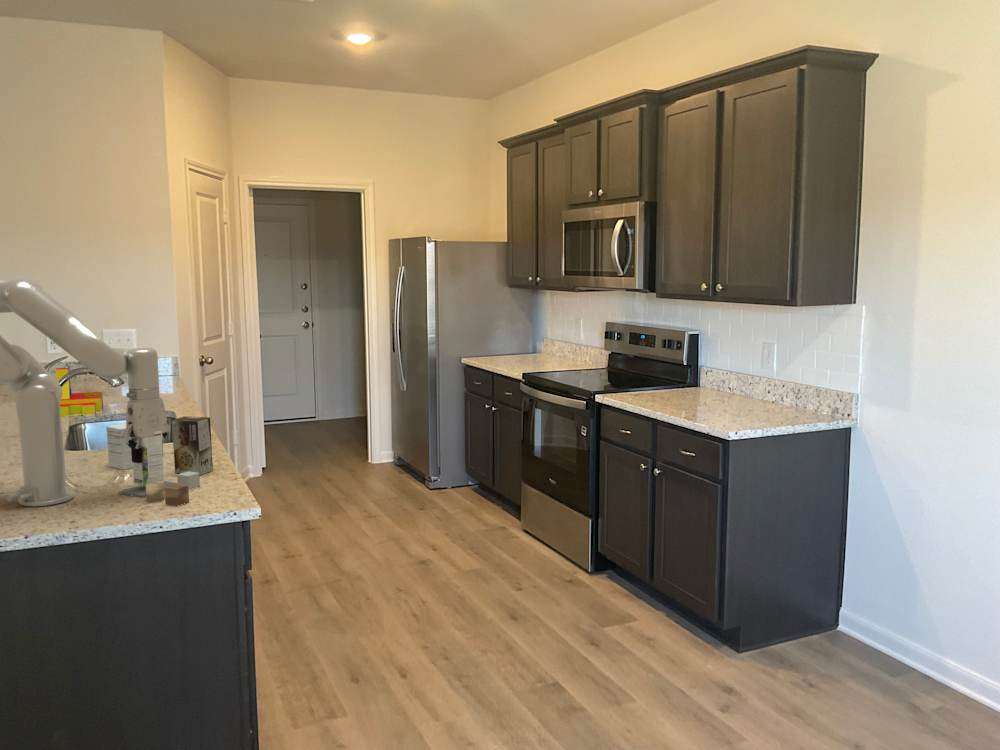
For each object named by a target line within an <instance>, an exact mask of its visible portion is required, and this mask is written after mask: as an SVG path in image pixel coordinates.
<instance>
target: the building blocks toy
mask: <svg viewBox="0 0 1000 750" xmlns="http://www.w3.org/2000/svg"><path fill="white" fill-rule="evenodd" d="M54 370H55V379H56V380H57V381H59V380H60V379H61V378H62V377H63V376H64V375H66V374H67V373H69V374H70V368H69V367H56V368H55V369H54ZM103 399H104V396H103V391H91V392H75V393H74V392H73V393H72V388H71V379H70V380H69V381H68V382H67V383H66V384H65V385H64V386H63V387H62V398H61V401H60V412H61V417H65V416H69V415H74V414H82V415H87V414H95V413H96V412H101V411H102V409H103V410H104V401H103ZM102 412H103V411H102Z"/></svg>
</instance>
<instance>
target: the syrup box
mask: <svg viewBox="0 0 1000 750" xmlns="http://www.w3.org/2000/svg"><path fill="white" fill-rule="evenodd" d="M136 440H137V439H136ZM136 440H135V443H136ZM139 448H141V449H142V463H134V462H133V468H132V470H133V472H132V473H133V474H132V475H133V484H134V485H142V486H145V487H146V483H148V482H152V481H163V482H164V481H165V478H164V477H165V475H164V451H163V452H162V432H161V431H156V433H154V434H153V436H150V437H147V438H141V444H140V447H139Z"/></svg>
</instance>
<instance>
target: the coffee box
mask: <svg viewBox="0 0 1000 750" xmlns="http://www.w3.org/2000/svg"><path fill="white" fill-rule="evenodd" d="M171 431H172V433H171V434H172V446H173V460H174V474H177V473H184V472H188V471H190V472H197V473H199V476H202V475H204V474H207V473H209V472H210V473H211V472H212V471H214V465H213V464H214V463H213V449H212V448H213V446H212V427H211V417H206V416H205V417H204V416H181V417H178V418H175V419H172V420H171Z"/></svg>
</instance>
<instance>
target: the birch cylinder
mask: <svg viewBox="0 0 1000 750" xmlns="http://www.w3.org/2000/svg"><path fill="white" fill-rule="evenodd" d="M145 498H146V502H147V501H149V502H148V503H157V502H156V501H160V502H162V500H163V501H165V500H164V499H165V491H164V482H163V481H152V482H148V483H146V497H145Z"/></svg>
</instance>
